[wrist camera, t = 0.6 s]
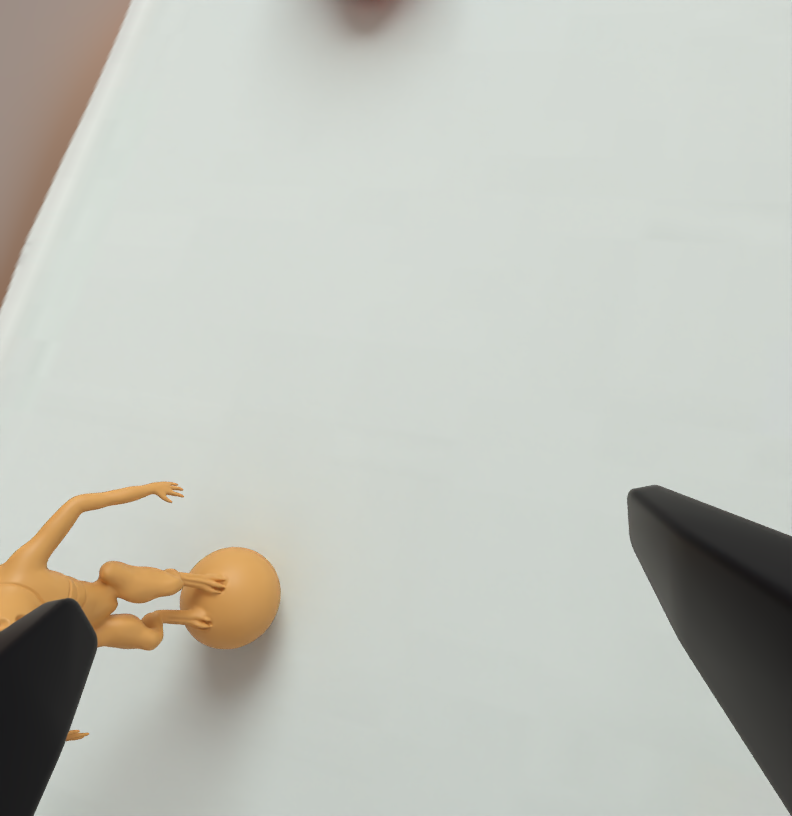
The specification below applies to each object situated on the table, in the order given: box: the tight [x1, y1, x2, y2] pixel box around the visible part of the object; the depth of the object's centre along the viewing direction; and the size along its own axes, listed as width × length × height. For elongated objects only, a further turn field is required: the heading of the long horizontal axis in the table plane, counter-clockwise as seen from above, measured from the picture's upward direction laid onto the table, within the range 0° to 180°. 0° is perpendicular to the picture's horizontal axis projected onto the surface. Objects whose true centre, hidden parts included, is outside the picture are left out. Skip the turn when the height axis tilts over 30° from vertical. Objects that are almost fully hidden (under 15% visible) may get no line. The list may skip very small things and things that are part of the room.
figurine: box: [0, 482, 281, 741], centre depth 18 cm, size 8×6×12 cm
